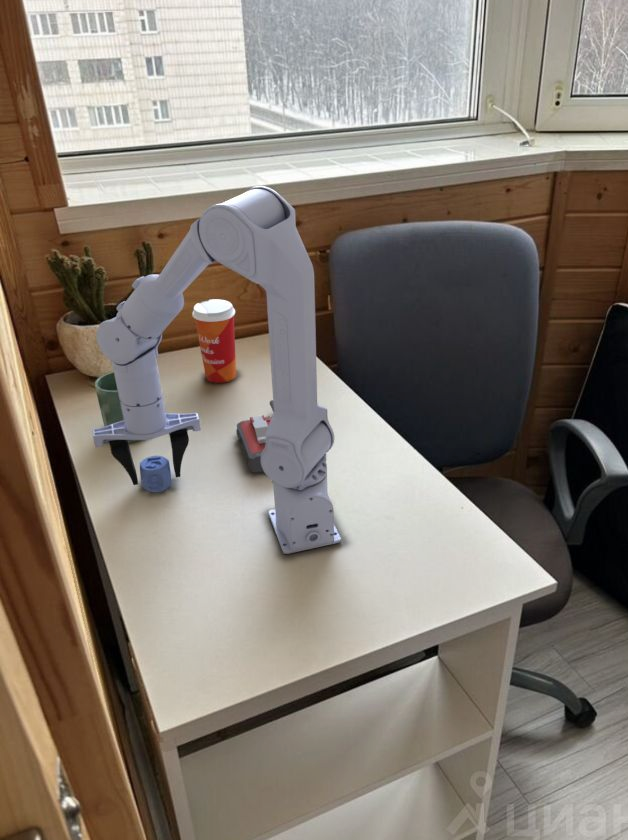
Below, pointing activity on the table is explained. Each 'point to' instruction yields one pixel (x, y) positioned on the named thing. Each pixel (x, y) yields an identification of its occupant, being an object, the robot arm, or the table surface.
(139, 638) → the table surface
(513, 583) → the table surface
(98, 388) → the pencil cup
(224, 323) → the paper cup
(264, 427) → the walkie-talkie
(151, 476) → the decorative dice
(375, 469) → the table surface
